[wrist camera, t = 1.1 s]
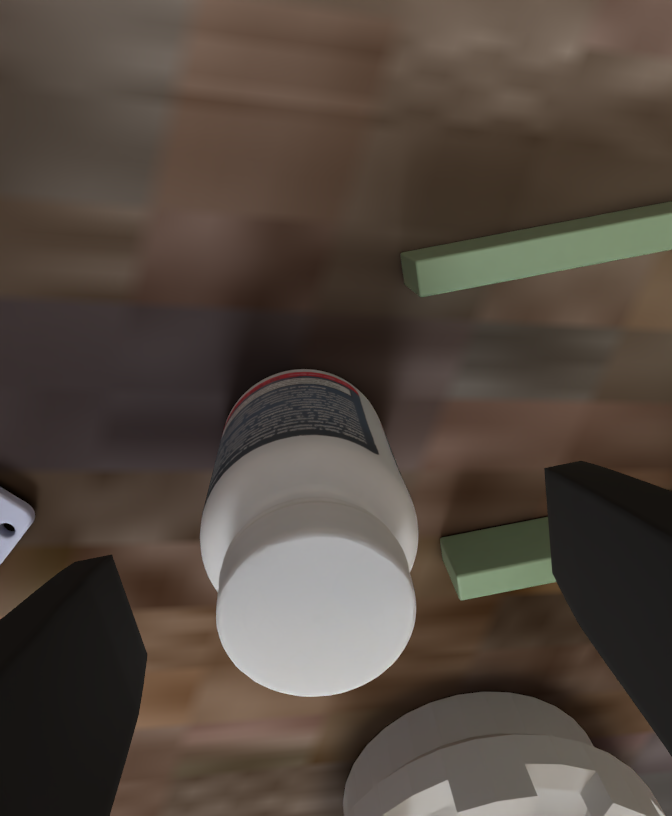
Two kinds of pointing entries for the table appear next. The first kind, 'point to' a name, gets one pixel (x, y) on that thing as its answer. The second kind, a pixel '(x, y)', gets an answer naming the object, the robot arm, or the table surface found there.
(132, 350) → the table surface
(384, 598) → the pill bottle
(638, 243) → the holder
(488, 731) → the flag stand
